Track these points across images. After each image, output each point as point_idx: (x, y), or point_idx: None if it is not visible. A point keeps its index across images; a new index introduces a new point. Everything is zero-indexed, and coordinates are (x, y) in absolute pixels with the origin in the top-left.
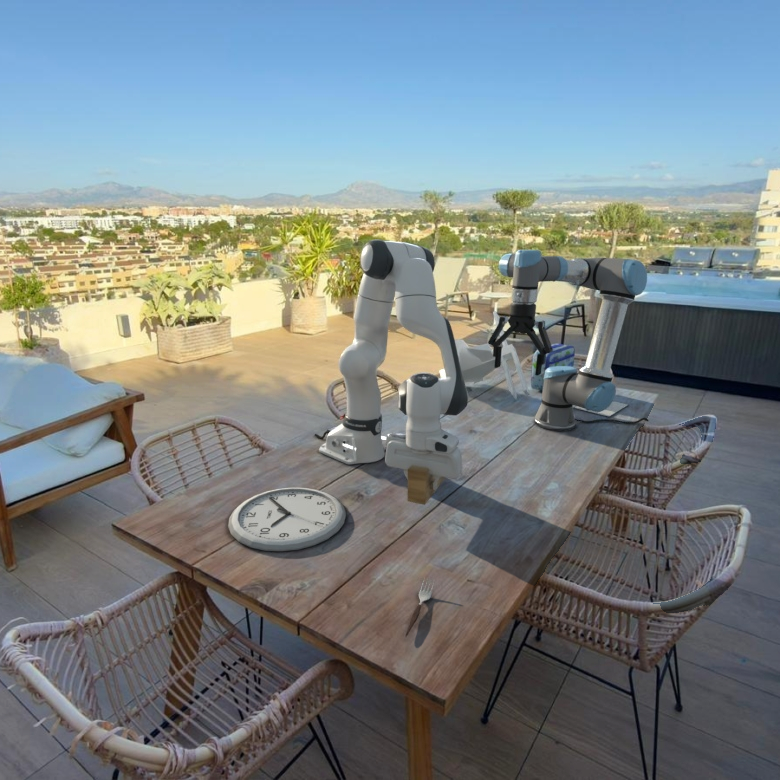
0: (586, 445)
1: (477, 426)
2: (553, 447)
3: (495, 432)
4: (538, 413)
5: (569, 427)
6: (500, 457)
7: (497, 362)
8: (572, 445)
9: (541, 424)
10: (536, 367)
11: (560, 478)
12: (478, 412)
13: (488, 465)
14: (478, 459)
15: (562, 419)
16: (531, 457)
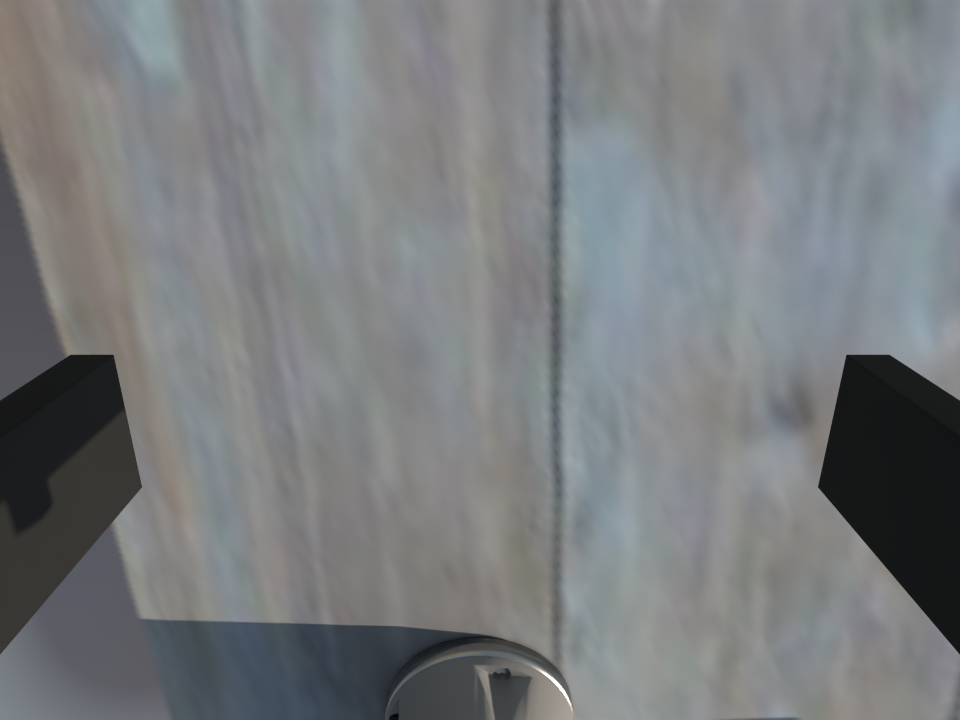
0: (261, 576)
1: (795, 485)
2: (367, 470)
3: (682, 469)
4: (550, 714)
5: (392, 691)
6: (530, 188)
7: (900, 418)
8: (309, 541)
9: (513, 653)
10: (16, 416)
11: (168, 144)
12: (854, 643)
13: (540, 38)
14: (621, 78)
15: (419, 708)
16: (398, 294)
